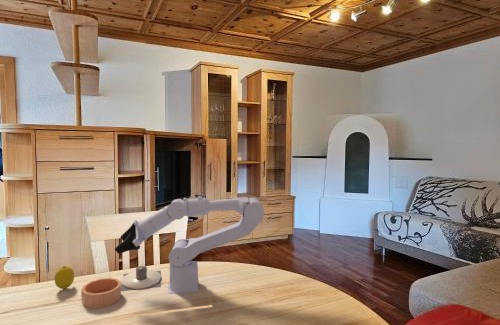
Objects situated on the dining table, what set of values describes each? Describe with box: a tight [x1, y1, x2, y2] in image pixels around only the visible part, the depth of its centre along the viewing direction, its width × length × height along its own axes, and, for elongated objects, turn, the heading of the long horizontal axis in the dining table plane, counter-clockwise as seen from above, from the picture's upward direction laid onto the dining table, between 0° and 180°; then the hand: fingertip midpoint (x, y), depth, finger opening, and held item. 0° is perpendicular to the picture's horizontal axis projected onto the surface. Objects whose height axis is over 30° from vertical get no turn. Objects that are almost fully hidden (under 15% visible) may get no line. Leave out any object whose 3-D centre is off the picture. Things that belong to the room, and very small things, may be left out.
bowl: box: [80, 277, 122, 309], centre depth 96 cm, size 11×11×4 cm
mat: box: [121, 270, 162, 292], centre depth 109 cm, size 13×13×1 cm
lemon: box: [54, 265, 75, 290], centre depth 102 cm, size 6×6×8 cm
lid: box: [120, 265, 162, 290], centre depth 109 cm, size 13×13×4 cm
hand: (119, 244), depth 102 cm, fingers open, 7 cm apart
